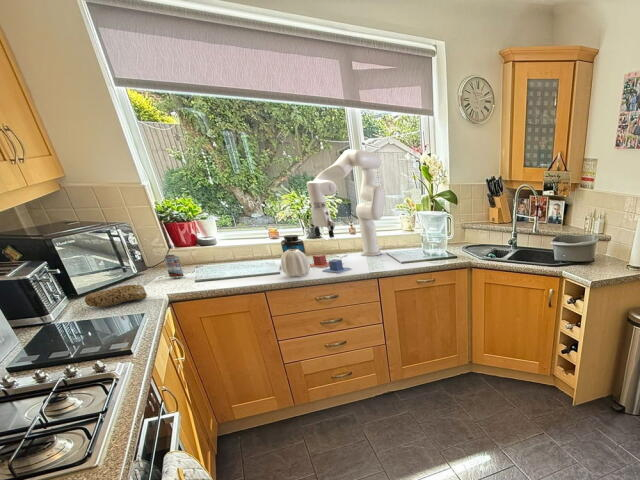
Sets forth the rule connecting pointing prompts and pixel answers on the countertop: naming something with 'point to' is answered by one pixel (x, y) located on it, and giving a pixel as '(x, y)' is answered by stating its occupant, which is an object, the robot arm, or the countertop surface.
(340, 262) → the blue block
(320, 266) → the red mat
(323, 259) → the red block
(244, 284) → the countertop surface
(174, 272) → the beverage can
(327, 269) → the blue mat
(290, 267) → the vase
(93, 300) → the sponge
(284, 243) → the container
